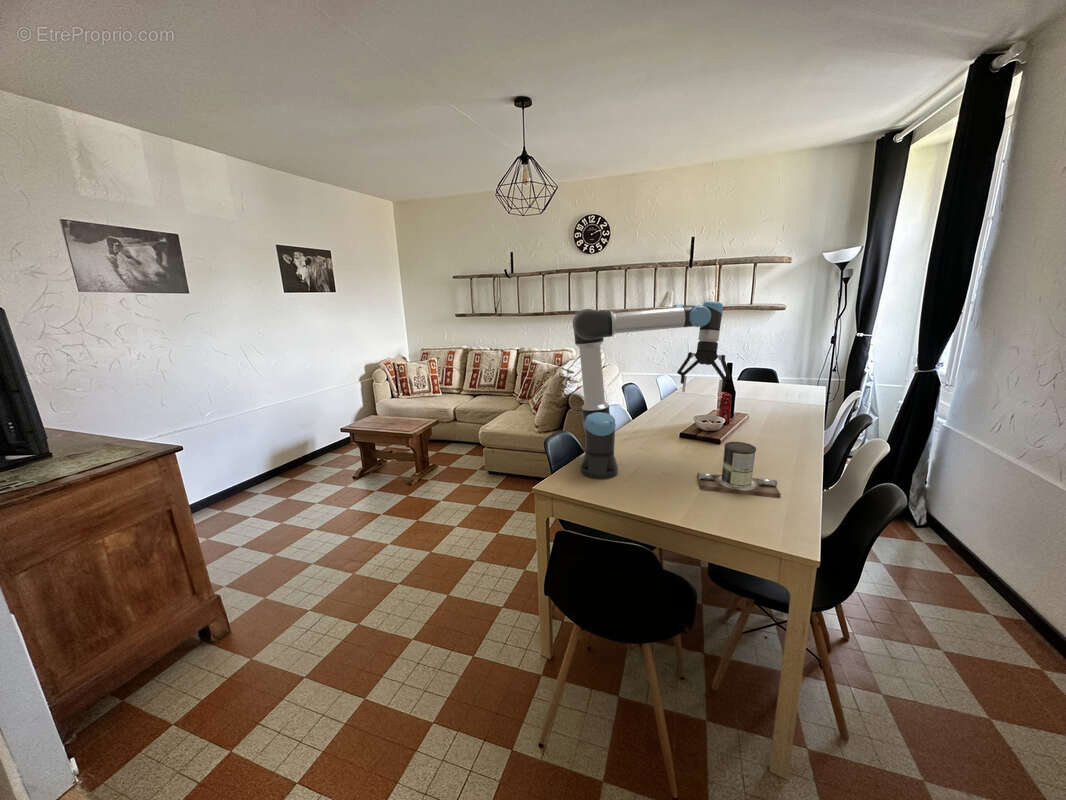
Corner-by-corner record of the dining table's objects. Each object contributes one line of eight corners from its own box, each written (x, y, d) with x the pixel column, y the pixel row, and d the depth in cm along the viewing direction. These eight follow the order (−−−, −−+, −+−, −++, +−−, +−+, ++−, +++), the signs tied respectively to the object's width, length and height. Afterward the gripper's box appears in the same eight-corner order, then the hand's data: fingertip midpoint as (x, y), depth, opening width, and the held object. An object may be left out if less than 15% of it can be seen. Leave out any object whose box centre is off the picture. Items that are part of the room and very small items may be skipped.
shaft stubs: (699, 480, 154) (700, 474, 154) (698, 477, 157) (699, 471, 156) (776, 487, 147) (777, 481, 147) (774, 485, 150) (775, 479, 149)
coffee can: (715, 481, 153) (719, 445, 149) (728, 474, 159) (732, 439, 156) (744, 490, 145) (748, 453, 142) (756, 482, 151) (761, 446, 148)
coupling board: (700, 489, 150) (701, 485, 149) (697, 475, 162) (697, 471, 161) (780, 498, 143) (781, 493, 142) (770, 482, 155) (771, 478, 155)
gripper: (739, 344, 165) (732, 396, 167) (674, 339, 171) (668, 390, 173) (744, 343, 157) (736, 398, 160) (676, 338, 164) (669, 391, 166)
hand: (700, 394), depth 166 cm, fingers open, 13 cm apart
